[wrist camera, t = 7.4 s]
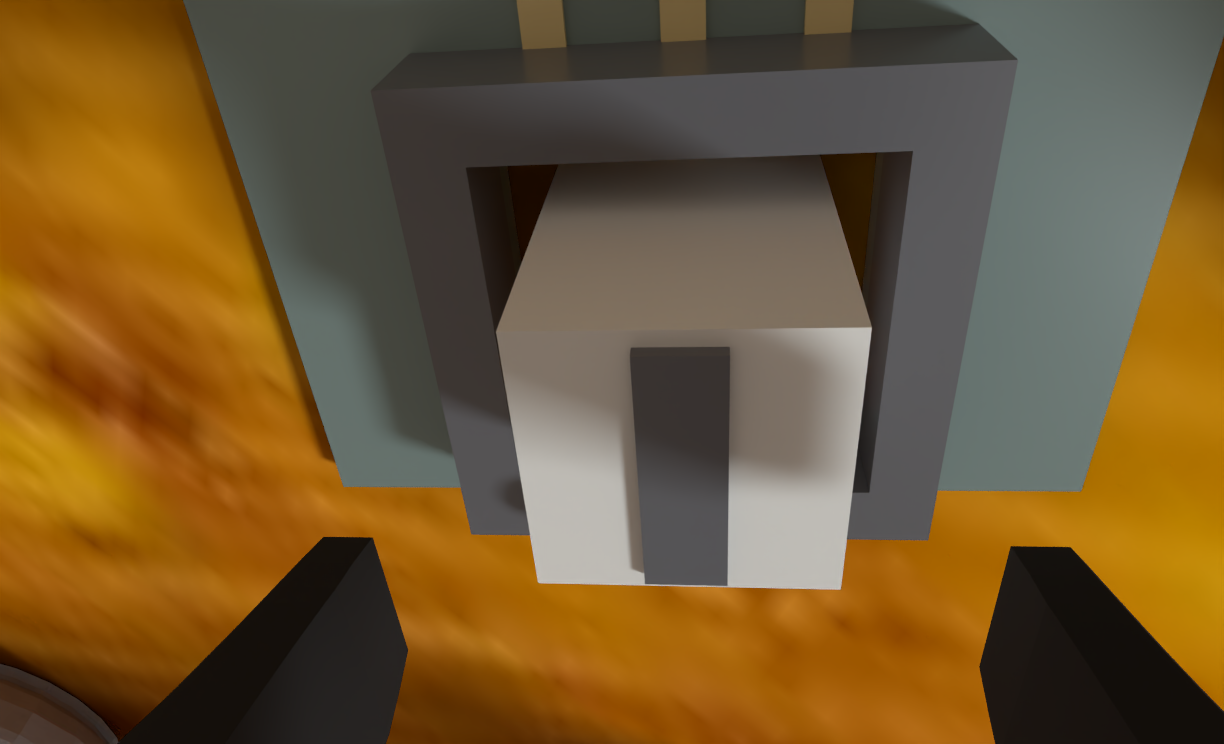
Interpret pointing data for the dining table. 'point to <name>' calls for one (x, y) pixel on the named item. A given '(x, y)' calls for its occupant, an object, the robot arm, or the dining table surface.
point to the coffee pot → (45, 713)
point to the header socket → (719, 128)
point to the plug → (687, 375)
